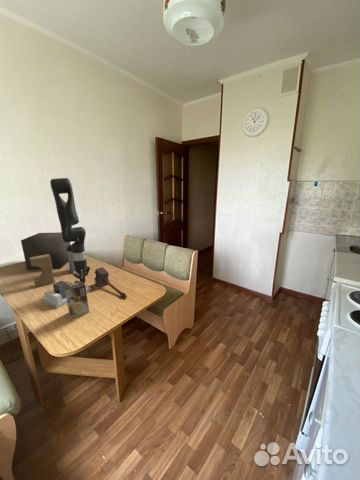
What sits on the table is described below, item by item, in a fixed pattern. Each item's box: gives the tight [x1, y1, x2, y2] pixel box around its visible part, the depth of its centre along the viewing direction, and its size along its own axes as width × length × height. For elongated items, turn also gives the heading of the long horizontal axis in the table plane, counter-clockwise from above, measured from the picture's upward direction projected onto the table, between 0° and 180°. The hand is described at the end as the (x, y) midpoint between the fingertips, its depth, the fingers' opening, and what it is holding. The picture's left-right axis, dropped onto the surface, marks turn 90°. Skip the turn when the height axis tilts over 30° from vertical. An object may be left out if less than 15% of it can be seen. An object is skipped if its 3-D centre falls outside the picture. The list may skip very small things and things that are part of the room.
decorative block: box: [29, 254, 56, 289], centre depth 136 cm, size 11×6×20 cm, turn 130°
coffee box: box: [64, 281, 90, 319], centre depth 105 cm, size 9×6×16 cm
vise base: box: [42, 285, 91, 309], centre depth 122 cm, size 23×12×6 cm, turn 156°
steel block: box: [52, 280, 68, 299], centre depth 118 cm, size 5×5×9 cm
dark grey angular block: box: [20, 231, 72, 271], centre depth 171 cm, size 25×25×25 cm
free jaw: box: [66, 280, 80, 285], centre depth 126 cm, size 8×11×5 cm
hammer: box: [93, 267, 128, 299], centre depth 130 cm, size 7×33×10 cm, turn 49°
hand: (83, 283), depth 132 cm, fingers closed
